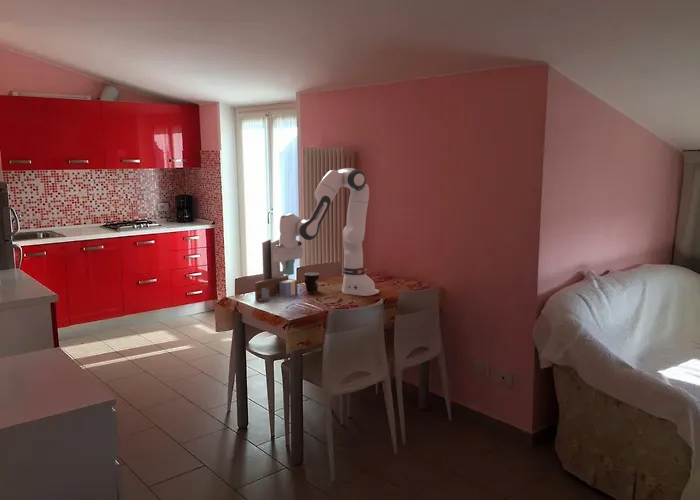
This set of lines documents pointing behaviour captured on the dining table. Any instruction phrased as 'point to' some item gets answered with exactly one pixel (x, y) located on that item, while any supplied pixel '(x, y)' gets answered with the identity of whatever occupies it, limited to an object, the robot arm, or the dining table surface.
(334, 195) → the robot arm
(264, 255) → the brochure
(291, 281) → the cream book
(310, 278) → the coffee mug
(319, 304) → the dining table surface
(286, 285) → the slate book
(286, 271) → the teal rectangular block
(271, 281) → the walnut rack
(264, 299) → the bookend
